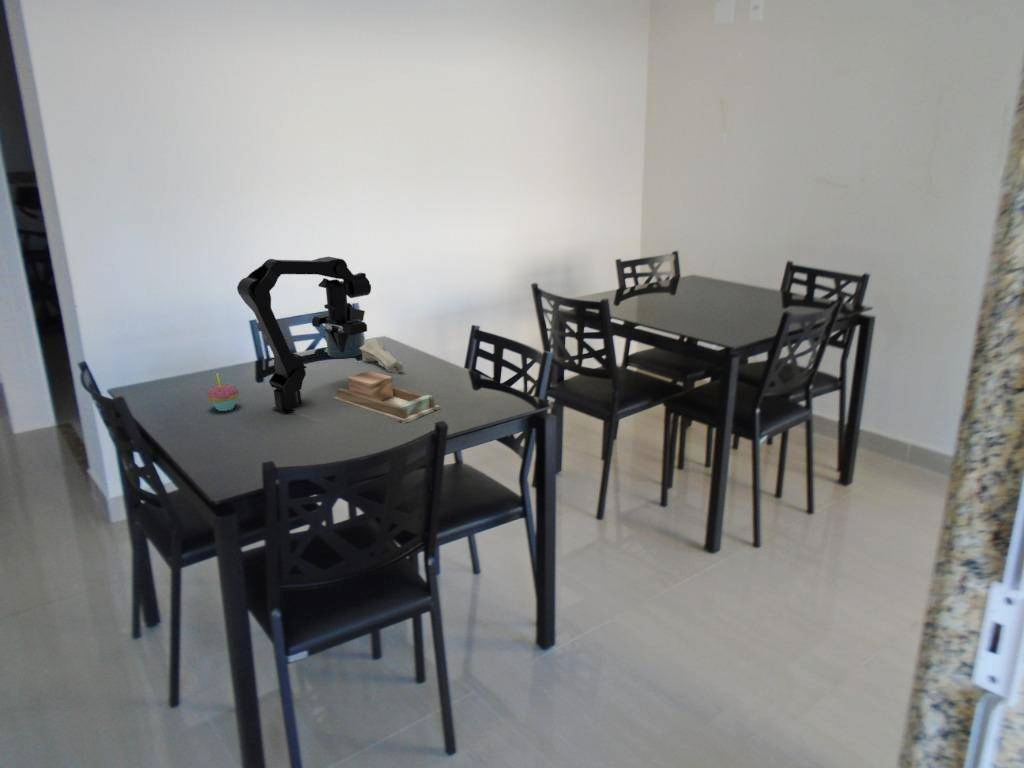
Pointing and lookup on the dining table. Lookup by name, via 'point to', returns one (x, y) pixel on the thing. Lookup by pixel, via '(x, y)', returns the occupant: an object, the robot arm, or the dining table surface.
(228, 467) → the dining table surface
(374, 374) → the crate
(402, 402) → the bay
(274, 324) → the robot arm
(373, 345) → the faceted club
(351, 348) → the canister
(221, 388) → the cupcake
